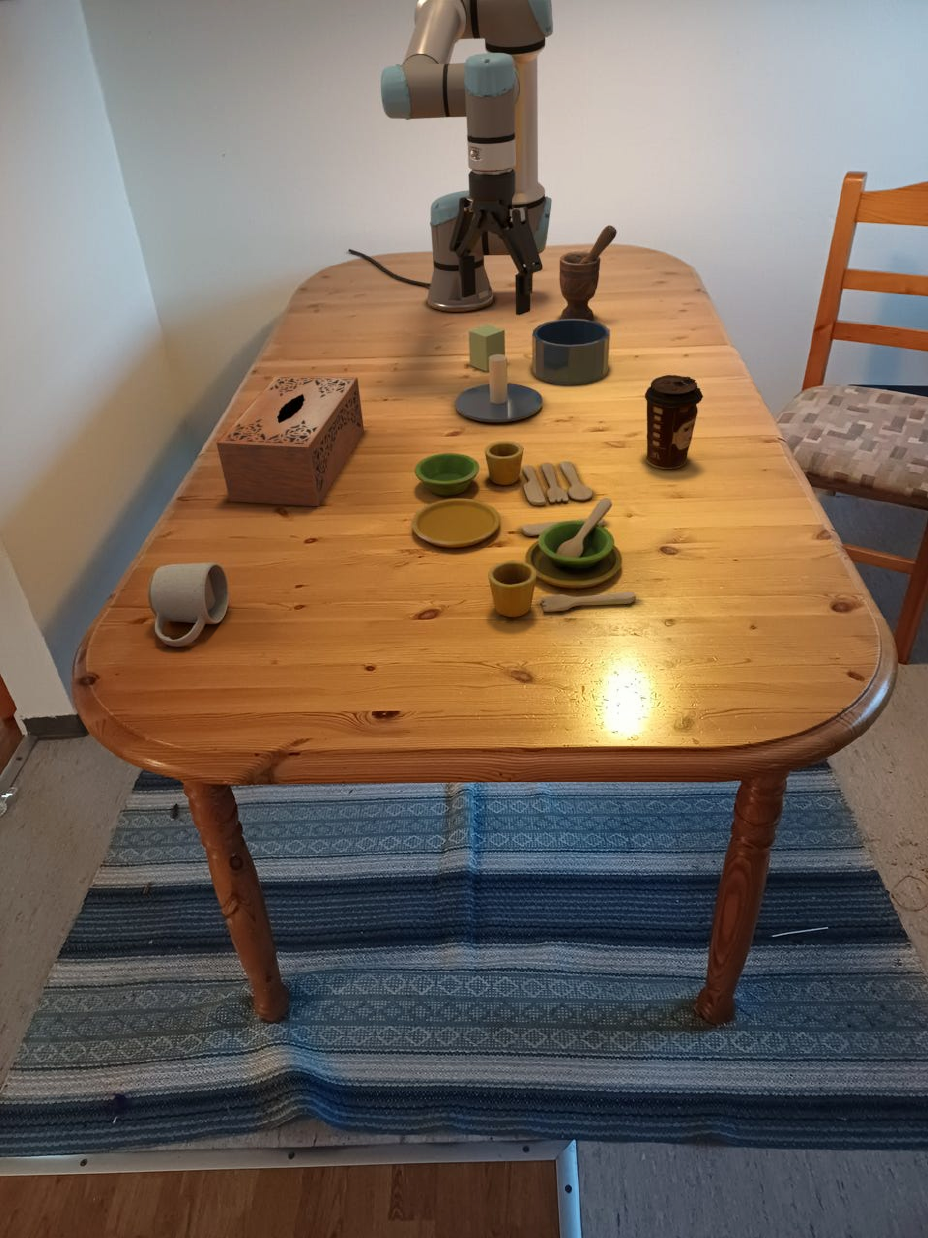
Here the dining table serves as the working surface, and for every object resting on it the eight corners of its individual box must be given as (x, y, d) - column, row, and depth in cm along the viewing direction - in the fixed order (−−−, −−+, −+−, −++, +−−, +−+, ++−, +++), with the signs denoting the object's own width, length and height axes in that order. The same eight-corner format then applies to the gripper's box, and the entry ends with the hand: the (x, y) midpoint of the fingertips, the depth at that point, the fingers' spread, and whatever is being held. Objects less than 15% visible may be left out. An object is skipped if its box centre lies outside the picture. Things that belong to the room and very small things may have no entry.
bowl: (516, 371, 176) (516, 333, 171) (568, 350, 183) (569, 313, 179) (571, 391, 167) (572, 352, 162) (623, 368, 174) (626, 330, 170)
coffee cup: (698, 452, 145) (707, 375, 138) (691, 475, 139) (700, 397, 131) (644, 446, 148) (650, 370, 140) (635, 469, 142) (641, 391, 134)
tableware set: (644, 610, 113) (648, 568, 109) (424, 633, 111) (420, 591, 107) (576, 459, 145) (577, 423, 141) (405, 475, 144) (402, 439, 140)
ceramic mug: (175, 597, 119) (160, 549, 115) (234, 599, 118) (221, 551, 114) (143, 649, 111) (126, 599, 106) (207, 651, 110) (192, 602, 105)
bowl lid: (437, 407, 164) (434, 358, 158) (500, 381, 172) (499, 334, 166) (497, 433, 154) (495, 382, 149) (560, 405, 162) (561, 355, 157)
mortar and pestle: (611, 312, 200) (616, 217, 188) (611, 326, 193) (617, 228, 181) (558, 313, 201) (560, 218, 189) (558, 326, 194) (559, 229, 182)
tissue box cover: (318, 506, 137) (308, 446, 131) (230, 501, 140) (216, 442, 133) (364, 431, 157) (357, 377, 151) (286, 428, 160) (276, 374, 153)
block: (469, 365, 179) (468, 330, 175) (488, 358, 182) (487, 323, 177) (486, 371, 176) (485, 336, 172) (505, 364, 179) (504, 329, 174)
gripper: (423, 163, 147) (432, 293, 160) (531, 185, 132) (531, 326, 145) (457, 155, 151) (463, 283, 164) (566, 175, 136) (563, 314, 149)
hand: (495, 304), depth 155 cm, fingers open, 13 cm apart
